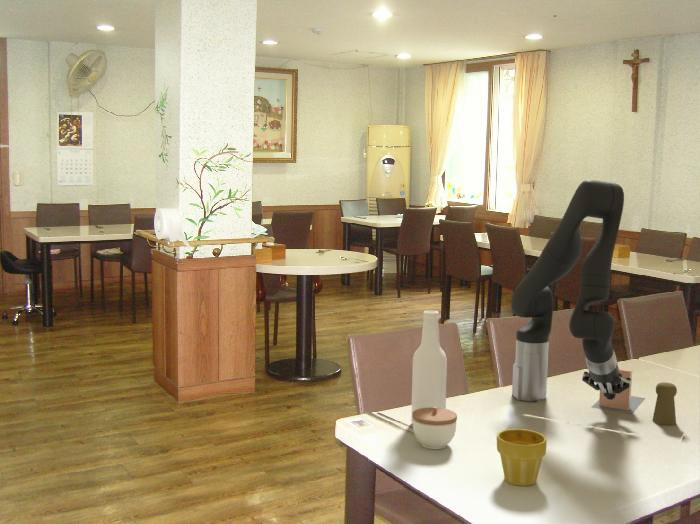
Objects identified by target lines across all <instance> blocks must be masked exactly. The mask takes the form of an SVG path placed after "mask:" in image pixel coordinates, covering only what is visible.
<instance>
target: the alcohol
mask: <svg viewBox="0 0 700 524" xmlns="http://www.w3.org/2000/svg"><path fill="white" fill-rule="evenodd" d="M439 314H440V313H439V311H437V310H432V309H431V310H430V309H429V310H424V311H423V315H422V319H423V322H422V332H421V342H420V345H419V347H418V348H417V349H416V350H415V352H414V354H413V357H412V373H411V374H412V376H411V377H412V379H411V381H412V382H411V383H412V384H411V389H412V390H411V417H410V420H411V423H412V424H413V418H412V413H413V412H414V411H415V410H417V409H421V408H429V407H437V408H444V409H447V407H446V404H447V403H446V402H447V375H448V373H447V372H448V371H447V369H448V367H447V366H448V359H447V355H446V352H445V351H444V349H443V348H442V347H441V343H440V330H439V327H440V326H439V318H440V317H439Z"/></svg>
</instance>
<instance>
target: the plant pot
mask: <svg viewBox="0 0 700 524" xmlns="http://www.w3.org/2000/svg"><path fill="white" fill-rule="evenodd" d="M547 444H548V443H547V437H546V436H545V434H543V433H541V432H538V431H535V430H531V429H524V428H509V429H504V430H501V431H499V432H498V433H497V435H496V450H497V452H498V453H499V454H500V461H501V466H502V470H503V477H504V480H505V481H506V482H507V483H508V484H511V485H513V486H518V487H519V486H520V487H522V486H523V487H528V486H533V485H534V484H536V483H537V480H538V476H539V475H538V474H539V471H540V467H541V464H542V460H543V457H545V456H546V453H547Z"/></svg>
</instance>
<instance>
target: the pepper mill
mask: <svg viewBox="0 0 700 524" xmlns="http://www.w3.org/2000/svg"><path fill="white" fill-rule="evenodd" d="M655 392H656V395H657V396H656V401H655V406H654V412H653V416H652V423H654V424H656V425H661V426H666V427H667V426H668V427H671V426H675V425H677V417H676V406H675V405H676V402H675V397H676V395H677V393H678V388H677V386H676V385H675V384H674V383H670V382H665V381H664V382H663V381H662V382H659V383H657V384H656V386H655Z"/></svg>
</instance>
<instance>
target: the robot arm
mask: <svg viewBox="0 0 700 524" xmlns="http://www.w3.org/2000/svg"><path fill="white" fill-rule="evenodd" d="M624 204H625V193H624V189H623V187H622V186H621V185H620V184H618V183H616V182H615V183H614V182H610V181H603V180H597V179H585V180H583V181H581V183H580V184H579V185H578V186H577V188H576V189H575V191H574V194H573V196H572V198H571V200H570V202H569V204H568V206H567V208H566V210H565V212H564V214H563V216H562V218H561V220H560V222H559V223H558V225H557V227H556V229H555V231H554V232H553V233H552V235H551V236H550V238H549V240H548V241H547V243H546V244H545V246H544V247H543V249H542V251H541V253H540V255H539V256H538V258H537V260H536V261H535V263H534V264H533V266H532V267H531V268H530V271H528V273H527V274H526V275H525V277H524V278H523V279H522V280H521V282H520V283H519V284H517V287H516V288H515V289H514V291H513V293H512V297H511V300H510V306H511V307H510V308H511V311H512V313H513V314H514V315H515V316H517V317H519V318H527V319H528V318H531V319H530V321H529V322H528V323H527V324H526V325H524V326H522V327H520V328H518V329H517V330H516V333H515V335H516V336H515V338H516V340H515V360H514V361H515V362H513V364H512V383H511V384H512V385H511V394H512V396H513V397H514V398H515V399H516V400H517V401H525V402H538V401H543V400H546V399H547V393H548V391H547V387H548V385H547V384H548V383H547V382H548V363H549V362H548V361H549V343H550V342H549V339H550V335H551V331H552V323H553V314H554V312H553V311H554V296H553V295H554V294H553V292H552V289H550V286H551V285H552V284H554V283H556V282H557V281H559V280H561V279H562V278H565V277H566V275H568V274H569V273H570V272H571V270H573V268H574V267H575V265H576V263H577V262H578V261H579V259H580V257H581V255H582V253H583V241H582V237H581V233H580V227H581V225H582V223H583V221H584V220H585V219H586V218H587V217H590V218H595V219H601V220H602V225H601V232H600V234H599V237H598V238H597V240H596V242H595V243H594V245H593V246H592V247H591V249H590V250H589V252H587V254H586V256H585V258H584V259H583V261H582V264H581V265H582V266H581V269H580V270H581V271H580V280H579V281H580V282H579V292H578V297H577V300H576V304H575V307H574V309H573V311H572V315H571V316H570V320H569V326H568V328H569V332H570V334H571V335H572V336H573V338H576V339H581V340H582V342H581V343H582V349H583V352H584V355H585V357H584V358H585V364H586V366H587V370H588V371H583V375H582V379H581V380H582V381H583V382H584V383H586V384H587V385H588V386H589V387H591V388H593V389H594V390H595V391H600V390H602V392H603V393H604V396H605V397H607V399H610V400H613V398H615V395H616V393H618V394H619V393H621V392H622V391H624V390H626V389H627V388H629V386H630V382H631V379H630V378H626V379H625V378H623V377H622V375H621V374H620V373H619V365H618V360H617V356H616V352H615V350H614V348H613V343H612V337H613V334H614V331H615V326H616V324H615V323H616V322H615V318H614V317H613V315H612V314H610V313H609V312H607V311H601V310H588V308H589V307H590V306H591V305H592V304H595V303H601V302H606V301H607V300H608V299H609V296H610V286H611V269H612V263H613V257H614V251H615V247H616V242H617V239H618V235H619V230H620V226H621V225H620V224H621V220H622V215H623V211H624ZM616 384H617V385H616Z"/></svg>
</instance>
